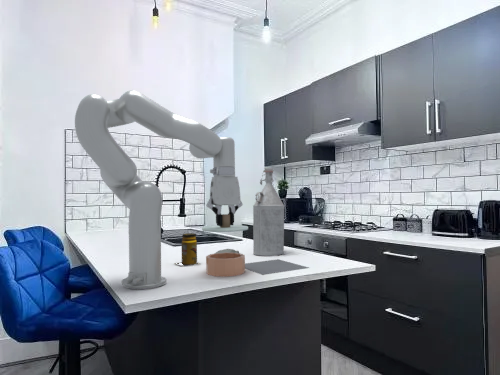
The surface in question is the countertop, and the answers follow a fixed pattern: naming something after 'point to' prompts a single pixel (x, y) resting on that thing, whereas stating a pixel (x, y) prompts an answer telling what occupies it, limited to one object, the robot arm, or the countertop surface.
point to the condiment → (189, 249)
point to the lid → (225, 226)
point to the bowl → (225, 264)
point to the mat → (272, 266)
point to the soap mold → (227, 251)
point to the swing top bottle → (268, 220)
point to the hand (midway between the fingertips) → (225, 224)
